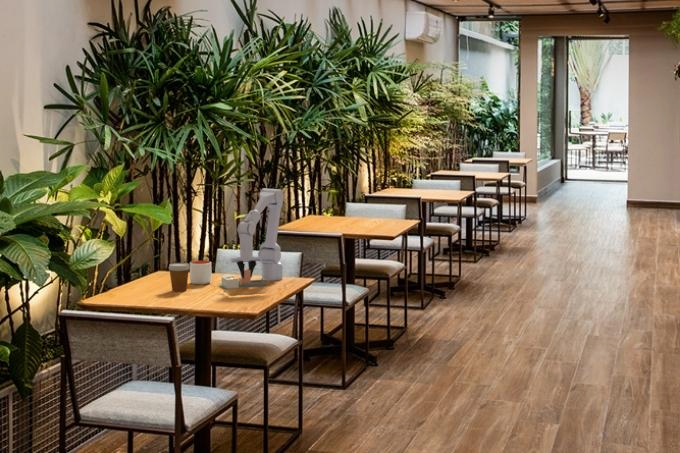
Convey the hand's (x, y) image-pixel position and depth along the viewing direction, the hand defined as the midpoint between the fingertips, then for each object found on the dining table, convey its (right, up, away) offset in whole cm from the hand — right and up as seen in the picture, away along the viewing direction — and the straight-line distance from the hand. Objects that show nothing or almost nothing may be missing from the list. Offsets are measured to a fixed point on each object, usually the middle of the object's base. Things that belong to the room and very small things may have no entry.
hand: (246, 277), depth 466 cm
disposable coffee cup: (-29, -6, -8) cm, 31 cm away
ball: (-7, -2, -3) cm, 8 cm away
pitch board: (-2, -5, +2) cm, 5 cm away
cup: (-22, -4, +11) cm, 25 cm away
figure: (0, -4, +1) cm, 4 cm away
